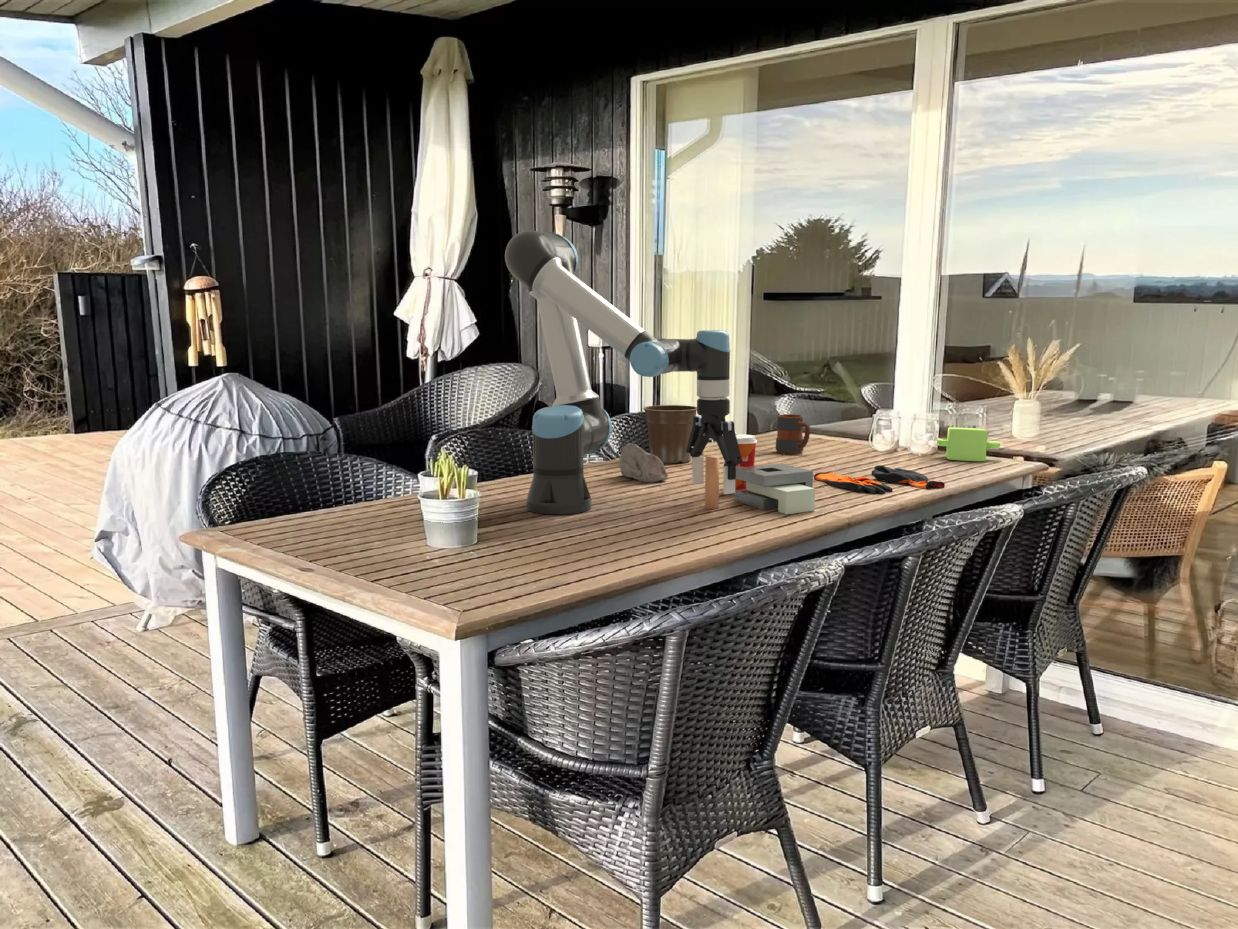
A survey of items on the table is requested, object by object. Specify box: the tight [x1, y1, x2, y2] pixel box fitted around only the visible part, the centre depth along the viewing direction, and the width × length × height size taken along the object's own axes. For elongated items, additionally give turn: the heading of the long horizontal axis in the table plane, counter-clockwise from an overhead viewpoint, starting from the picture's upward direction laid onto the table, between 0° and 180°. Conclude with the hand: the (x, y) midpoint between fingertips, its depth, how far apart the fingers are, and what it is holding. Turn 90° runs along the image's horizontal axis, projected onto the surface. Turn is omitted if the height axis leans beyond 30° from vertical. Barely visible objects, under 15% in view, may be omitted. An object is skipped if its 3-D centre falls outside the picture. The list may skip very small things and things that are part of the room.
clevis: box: [733, 463, 814, 511], centre depth 236 cm, size 14×12×8 cm
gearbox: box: [936, 427, 1001, 462], centre depth 297 cm, size 18×10×10 cm, turn 77°
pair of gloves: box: [813, 464, 945, 495], centre depth 260 cm, size 27×24×3 cm
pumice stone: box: [618, 442, 669, 483], centre depth 266 cm, size 15×8×10 cm, turn 39°
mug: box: [775, 413, 811, 456], centre depth 308 cm, size 9×12×12 cm
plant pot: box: [643, 404, 697, 465], centre depth 294 cm, size 16×16×16 cm
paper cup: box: [729, 434, 758, 490], centre depth 249 cm, size 8×8×14 cm
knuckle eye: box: [746, 482, 816, 515], centre depth 232 cm, size 8×16×5 cm, turn 27°
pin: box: [704, 455, 720, 510], centre depth 230 cm, size 3×3×12 cm
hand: (713, 488), depth 230 cm, fingers open, 13 cm apart
